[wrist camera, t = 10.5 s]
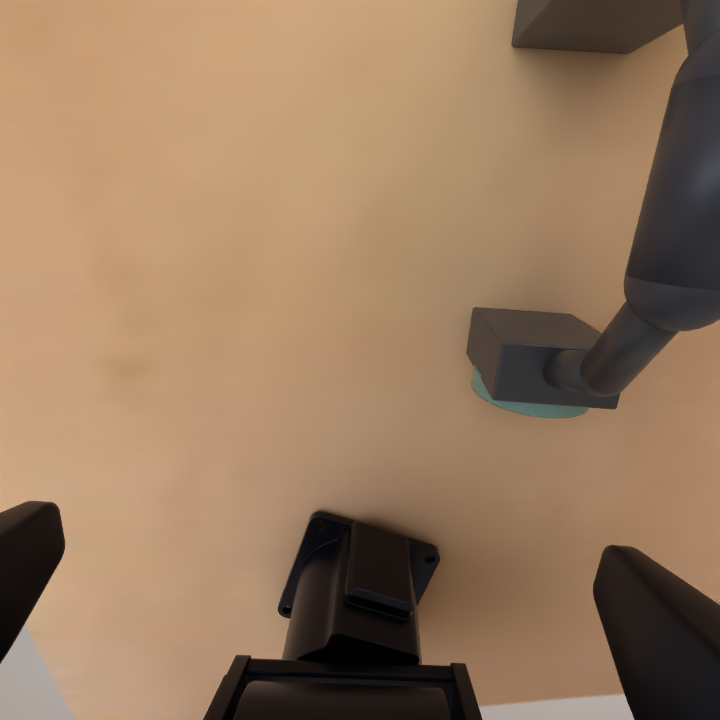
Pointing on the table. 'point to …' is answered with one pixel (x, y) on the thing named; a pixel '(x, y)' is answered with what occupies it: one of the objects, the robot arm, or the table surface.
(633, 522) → the table surface
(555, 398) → the headphones
